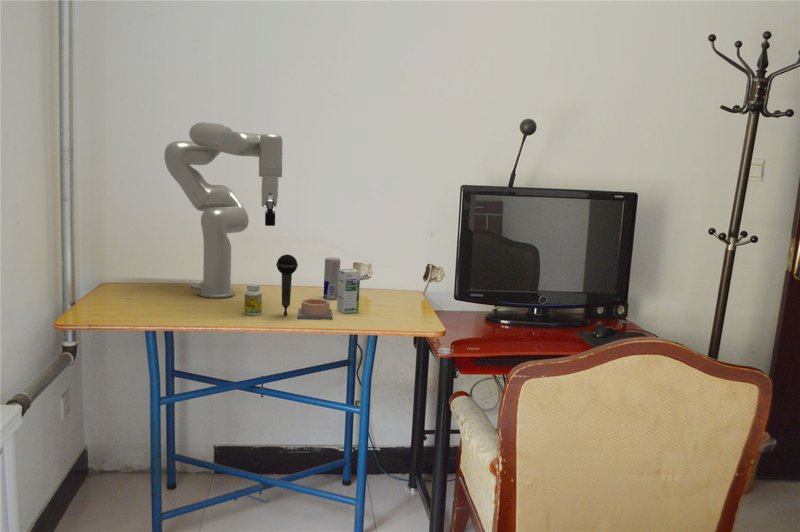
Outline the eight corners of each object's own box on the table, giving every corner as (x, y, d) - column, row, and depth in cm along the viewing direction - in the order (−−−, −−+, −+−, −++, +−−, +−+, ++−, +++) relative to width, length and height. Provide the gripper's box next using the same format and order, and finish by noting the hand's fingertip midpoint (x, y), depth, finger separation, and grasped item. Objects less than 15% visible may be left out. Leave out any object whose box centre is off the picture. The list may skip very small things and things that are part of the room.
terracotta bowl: (297, 318, 211) (298, 305, 211) (298, 310, 222) (298, 297, 221) (332, 319, 213) (332, 306, 212) (331, 311, 224) (331, 298, 223)
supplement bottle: (264, 313, 216) (265, 284, 215) (255, 316, 211) (256, 287, 210) (250, 311, 218) (250, 282, 217) (241, 314, 213) (241, 285, 212)
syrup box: (343, 313, 222) (345, 271, 220) (336, 309, 227) (338, 268, 225) (358, 312, 225) (360, 270, 222) (351, 308, 230) (353, 267, 227)
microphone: (286, 319, 210) (288, 257, 207) (270, 315, 214) (271, 254, 210) (300, 315, 216) (302, 254, 213) (284, 312, 219) (286, 252, 216)
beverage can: (339, 297, 247) (341, 257, 245) (337, 300, 242) (338, 259, 239) (325, 296, 248) (326, 256, 245) (321, 299, 242) (323, 258, 240)
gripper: (259, 171, 226) (259, 222, 228) (258, 172, 209) (258, 226, 212) (281, 172, 227) (281, 222, 230) (282, 173, 211) (281, 227, 213)
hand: (270, 224), depth 221 cm, fingers open, 9 cm apart
